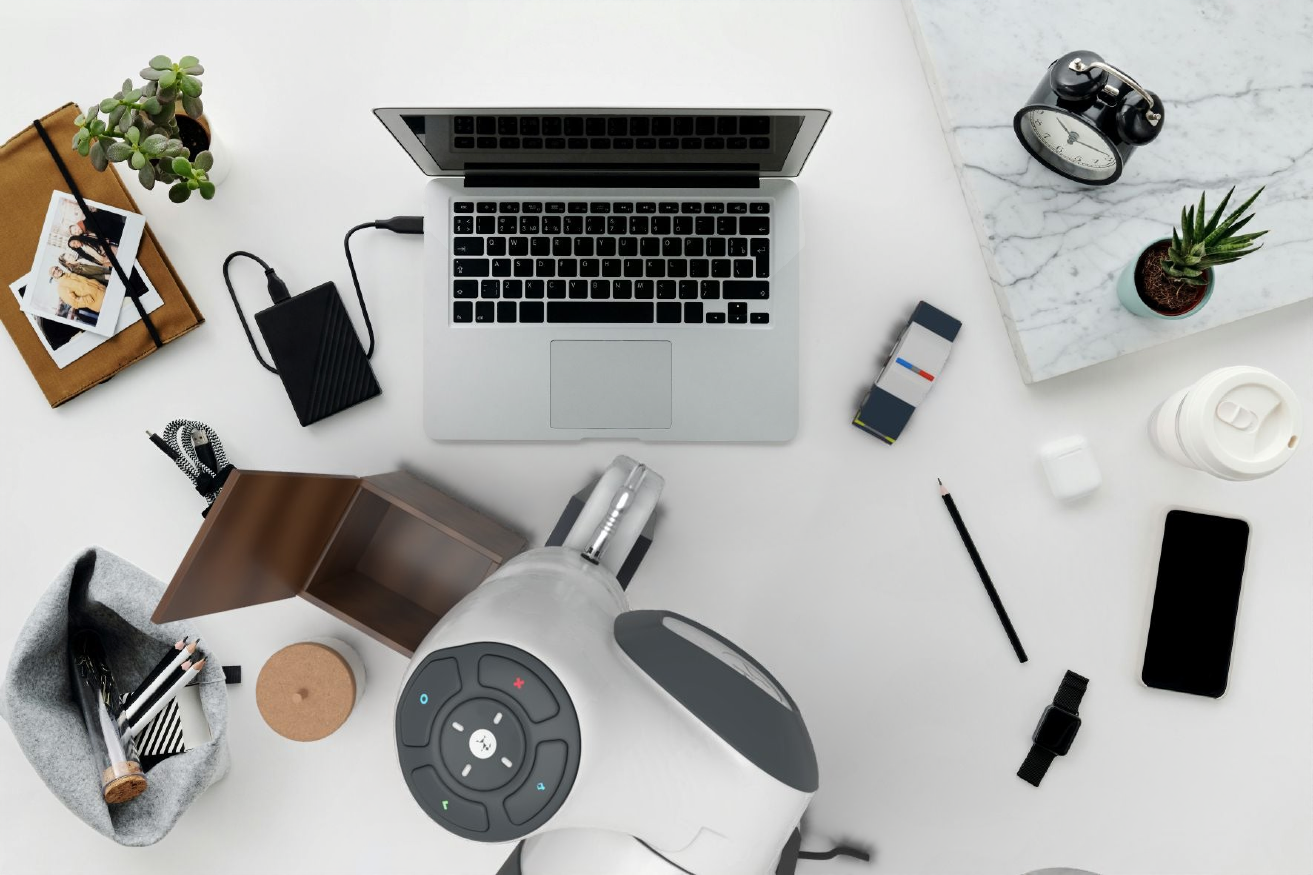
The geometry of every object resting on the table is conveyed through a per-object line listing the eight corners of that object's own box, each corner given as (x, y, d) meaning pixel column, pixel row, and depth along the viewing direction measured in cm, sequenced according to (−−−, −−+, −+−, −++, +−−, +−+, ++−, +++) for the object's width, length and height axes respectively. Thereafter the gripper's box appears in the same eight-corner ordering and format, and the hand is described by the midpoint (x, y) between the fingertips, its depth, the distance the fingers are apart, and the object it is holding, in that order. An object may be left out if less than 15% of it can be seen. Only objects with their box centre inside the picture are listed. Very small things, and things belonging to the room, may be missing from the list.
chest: (527, 539, 92) (503, 557, 78) (471, 639, 92) (437, 675, 78) (404, 470, 92) (359, 476, 78) (348, 570, 92) (294, 594, 79)
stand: (656, 512, 91) (652, 541, 67) (623, 571, 91) (607, 621, 67) (597, 478, 91) (572, 495, 67) (563, 538, 92) (527, 576, 68)
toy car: (848, 424, 91) (859, 423, 86) (916, 303, 91) (930, 295, 86) (886, 445, 91) (899, 446, 86) (954, 324, 91) (971, 317, 86)
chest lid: (240, 473, 61) (232, 468, 61) (156, 625, 61) (149, 620, 61) (361, 479, 78) (354, 475, 78) (295, 597, 78) (289, 593, 78)
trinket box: (369, 724, 92) (336, 758, 83) (281, 706, 92) (237, 737, 83) (387, 635, 92) (356, 659, 83) (299, 617, 92) (257, 638, 83)
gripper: (592, 438, 43) (610, 436, 57) (411, 758, 43) (472, 679, 57) (692, 494, 43) (685, 479, 57) (510, 815, 43) (547, 722, 57)
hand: (577, 581), depth 57 cm, fingers closed on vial, 5 cm apart
